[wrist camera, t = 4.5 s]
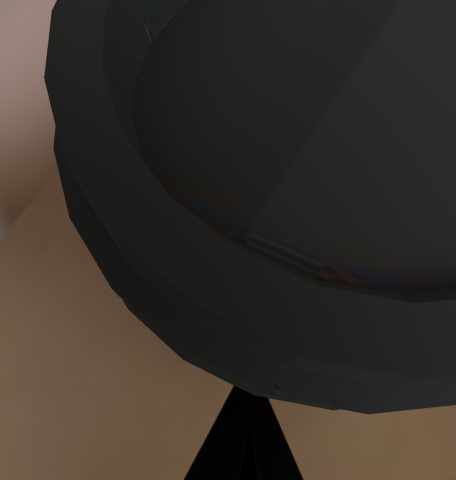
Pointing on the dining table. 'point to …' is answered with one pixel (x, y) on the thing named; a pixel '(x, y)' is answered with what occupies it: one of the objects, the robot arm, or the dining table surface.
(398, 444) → the dining table surface
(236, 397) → the robot arm
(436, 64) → the coffee cup
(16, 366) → the dining table surface
